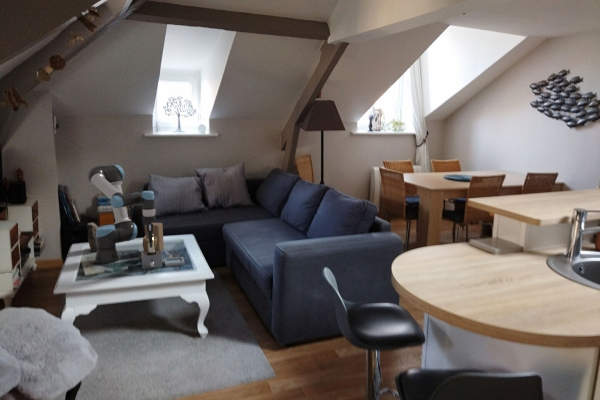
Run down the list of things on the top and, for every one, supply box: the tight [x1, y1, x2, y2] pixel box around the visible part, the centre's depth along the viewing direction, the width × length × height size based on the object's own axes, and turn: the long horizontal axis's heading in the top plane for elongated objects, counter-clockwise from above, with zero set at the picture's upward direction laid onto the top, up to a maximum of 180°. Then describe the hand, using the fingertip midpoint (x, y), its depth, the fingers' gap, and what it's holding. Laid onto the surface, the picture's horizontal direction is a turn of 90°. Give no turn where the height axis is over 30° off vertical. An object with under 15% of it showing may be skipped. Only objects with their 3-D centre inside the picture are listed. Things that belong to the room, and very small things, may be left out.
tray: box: [163, 256, 185, 268], centre depth 300 cm, size 12×12×2 cm
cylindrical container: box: [147, 234, 155, 255], centre depth 294 cm, size 4×4×16 cm
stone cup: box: [139, 235, 157, 260], centre depth 314 cm, size 15×12×15 cm
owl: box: [86, 221, 100, 253], centre depth 331 cm, size 13×13×20 cm
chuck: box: [141, 250, 163, 270], centre depth 292 cm, size 12×18×8 cm, turn 19°
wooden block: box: [144, 222, 165, 252], centre depth 328 cm, size 10×10×20 cm
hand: (151, 250), depth 294 cm, fingers closed on cylindrical container, 4 cm apart
